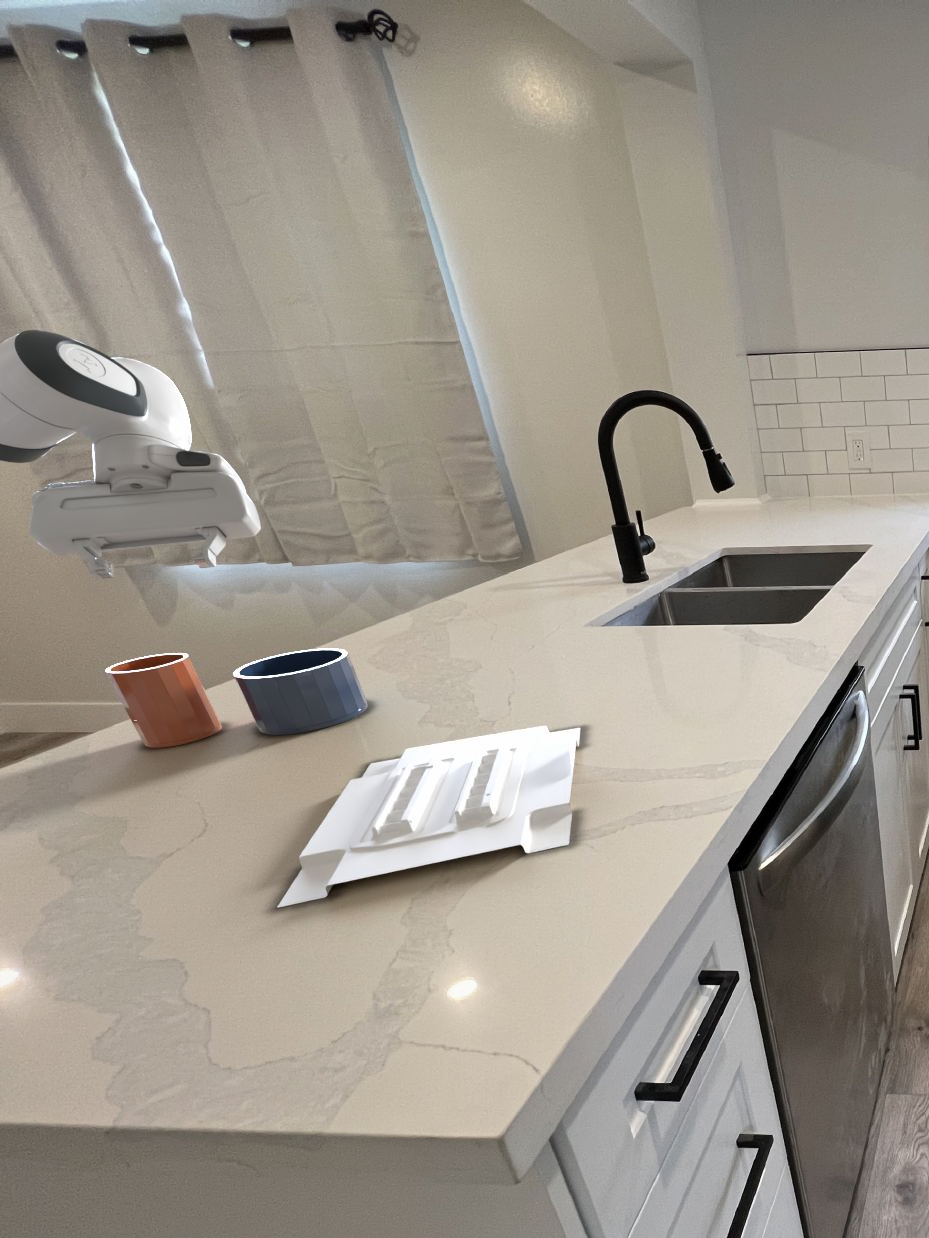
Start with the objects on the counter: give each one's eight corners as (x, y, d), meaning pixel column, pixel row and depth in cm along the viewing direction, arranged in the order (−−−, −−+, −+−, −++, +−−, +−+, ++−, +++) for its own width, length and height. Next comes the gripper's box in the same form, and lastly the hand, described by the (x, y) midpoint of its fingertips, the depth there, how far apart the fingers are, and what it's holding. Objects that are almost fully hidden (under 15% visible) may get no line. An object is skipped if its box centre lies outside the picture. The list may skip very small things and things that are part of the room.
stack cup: (239, 727, 94) (213, 672, 91) (335, 696, 103) (314, 645, 100) (291, 740, 90) (265, 682, 87) (387, 706, 99) (366, 653, 96)
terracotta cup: (133, 743, 91) (93, 669, 87) (203, 721, 97) (169, 650, 93) (163, 751, 89) (123, 675, 85) (234, 728, 94) (200, 656, 90)
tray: (275, 908, 61) (256, 867, 59) (372, 772, 84) (359, 740, 83) (571, 844, 68) (560, 805, 66) (583, 735, 92) (575, 705, 90)
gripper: (12, 468, 92) (15, 567, 88) (236, 454, 101) (247, 544, 97) (51, 503, 98) (55, 597, 94) (260, 487, 106) (272, 573, 102)
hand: (155, 570), depth 95 cm, fingers open, 8 cm apart
